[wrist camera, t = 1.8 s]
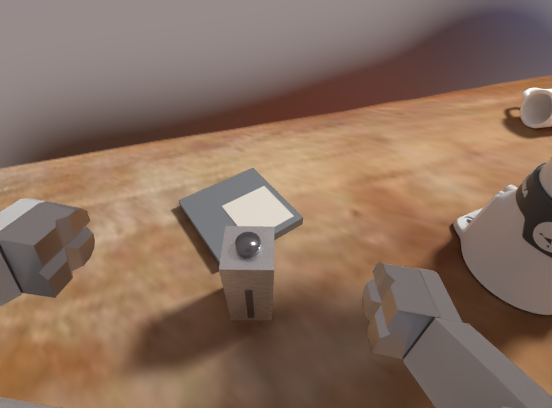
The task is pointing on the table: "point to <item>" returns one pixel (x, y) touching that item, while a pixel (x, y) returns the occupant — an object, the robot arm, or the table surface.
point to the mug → (537, 108)
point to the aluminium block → (248, 271)
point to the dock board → (238, 209)
